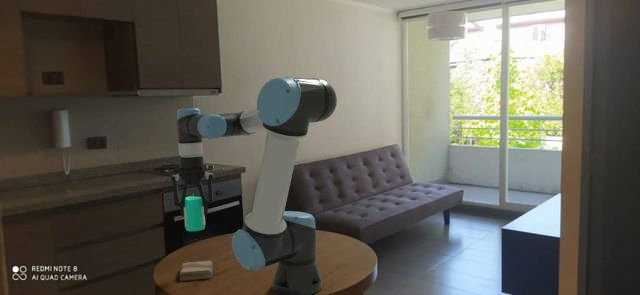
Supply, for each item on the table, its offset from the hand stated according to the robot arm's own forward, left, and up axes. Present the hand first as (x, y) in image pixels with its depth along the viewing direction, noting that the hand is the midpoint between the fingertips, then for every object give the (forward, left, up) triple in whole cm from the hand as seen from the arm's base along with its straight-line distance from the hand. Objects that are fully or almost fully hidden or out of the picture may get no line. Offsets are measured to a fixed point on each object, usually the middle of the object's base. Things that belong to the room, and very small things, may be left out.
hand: (195, 225), depth 152 cm
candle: (0, 0, -1) cm, 1 cm away
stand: (-2, 0, -16) cm, 16 cm away
